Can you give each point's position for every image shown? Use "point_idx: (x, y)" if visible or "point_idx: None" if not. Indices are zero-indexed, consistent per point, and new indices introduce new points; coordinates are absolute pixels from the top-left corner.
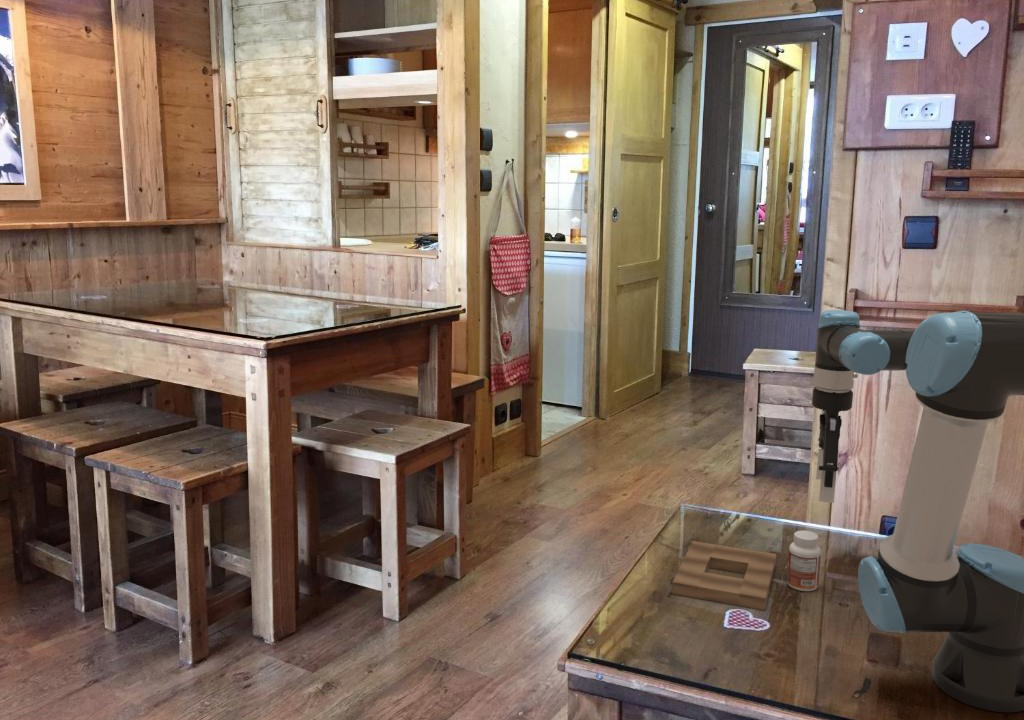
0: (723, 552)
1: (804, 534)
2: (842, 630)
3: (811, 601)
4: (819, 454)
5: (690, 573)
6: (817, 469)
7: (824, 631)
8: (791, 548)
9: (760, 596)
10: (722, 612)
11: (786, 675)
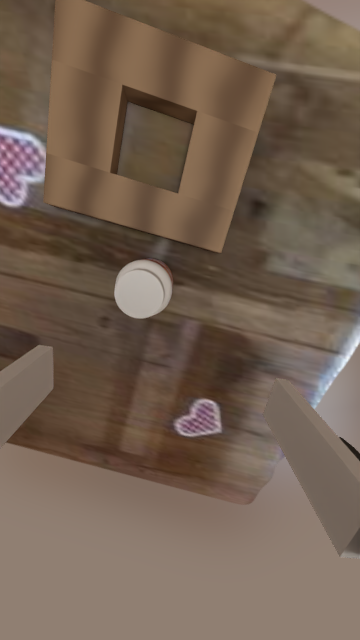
0: (221, 146)
1: (140, 291)
2: (31, 305)
3: (103, 283)
4: (345, 473)
5: (110, 47)
6: (294, 404)
7: (19, 282)
8: (135, 262)
9: (47, 193)
10: (26, 127)
11: None
